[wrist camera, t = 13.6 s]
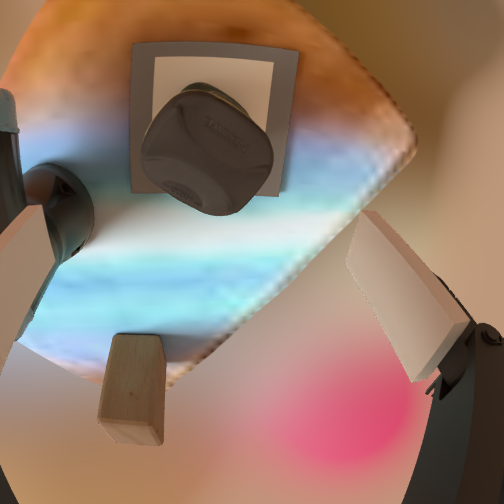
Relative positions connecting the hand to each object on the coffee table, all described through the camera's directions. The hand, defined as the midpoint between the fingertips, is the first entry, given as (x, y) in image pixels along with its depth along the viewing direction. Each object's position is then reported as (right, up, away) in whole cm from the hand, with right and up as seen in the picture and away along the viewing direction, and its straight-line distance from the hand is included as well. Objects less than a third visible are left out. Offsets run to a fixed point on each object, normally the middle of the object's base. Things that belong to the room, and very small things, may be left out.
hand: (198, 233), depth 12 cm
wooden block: (-21, -20, +46) cm, 54 cm away
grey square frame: (-3, +16, +24) cm, 29 cm away
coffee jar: (-3, +15, +23) cm, 28 cm away
